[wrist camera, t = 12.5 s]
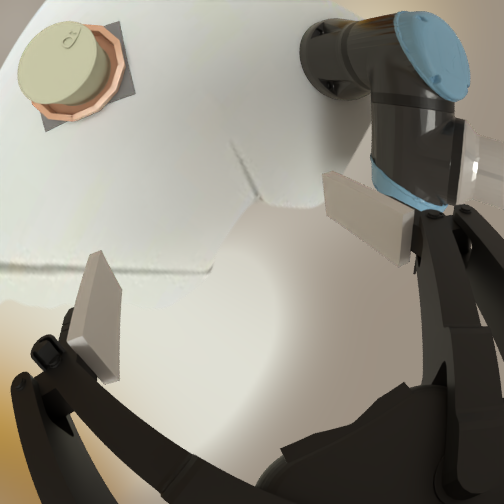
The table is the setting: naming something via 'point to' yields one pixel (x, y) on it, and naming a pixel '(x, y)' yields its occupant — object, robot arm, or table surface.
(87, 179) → the table surface
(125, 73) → the mat
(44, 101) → the can
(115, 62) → the bowl
